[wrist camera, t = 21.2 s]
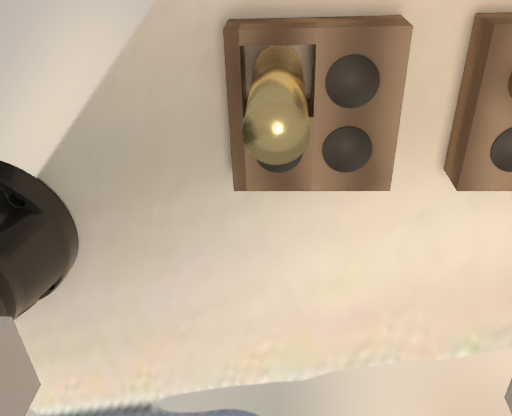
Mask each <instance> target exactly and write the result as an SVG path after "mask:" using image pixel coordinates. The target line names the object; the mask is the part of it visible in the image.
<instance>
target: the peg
mask: <svg viewBox="0 0 512 416" xmlns="http://www.w3.org/2000/svg"><path fill="white" fill-rule="evenodd" d="M242 138H243V142H244V145H245V147H246V149H247V150H248V152H249V153H250V154H251V155H252V156H253V157H254V158H256V159H257V160H259V161H261V162H263V163H266V164H271V165H281V164H286V163H289V162H291V161H293V160H295V159H297V158H298V157H299V156H300V155H301V154H302V153H303V152H304V151H305V149H306V148H307V145H308V143H309V140H310V125H309V117H308V108H307V100H306V91H305V83H304V74H303V66H302V61H301V59H300V57H299V55H298V54H297V52H295V51H294V50H293V49H292V48H290V47H288V46H285V45H273V46H270V47H268V48H266V49H264V50H263V51H262V52H261V53H260V54H259V56H258V57H257V59H256V62H255V66H254V71H253V76H252V82H251V87H250V92H249V97H248V102H247V107H246V113H245V118H244V123H243V128H242Z"/></svg>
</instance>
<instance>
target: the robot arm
mask: <svg viewBox="0 0 512 416" xmlns="http://www.w3.org/2000/svg"><path fill="white" fill-rule="evenodd" d="M77 250H78V238H77V232H76V228H75V225H74V223H73V220H72V218H71V216H70V214H69V212H68V211H67V209H66V208H65V206H64V205H63V203H62V202H61V201H60V200H59V198H58V197H57V196H56V195H55V194H54V193H53V192H52V191H51V190H50V189H49V188H48V187H47V186H46V185H44V184H43V183H42V182H41V181H39V180H38V179H36V178H35V177H34V176H32V175H30V174H29V173H27V172H25V171H23V170H22V169H19V168H18V167H15V166H13V165H11V164H8V163H5V162H3V161H0V416H25V414H26V412H27V411H28V409H29V407H30V405H31V403H32V401H33V399H34V397H35V395H36V393H37V391H38V389H39V387H40V385H41V384H40V381H39V379H38V377H37V374H36V372H35V370H34V368H33V365H32V363H31V361H30V358H29V356H28V354H27V351H26V349H25V347H24V344H23V342H22V340H21V337H20V335H19V333H18V330H17V328H16V326H15V323H14V319H16V318H17V317H19V316H20V315H21V314H23V313H24V312H25V311H27V310H28V309H29V308H31V307H32V306H33V305H34V304H35V303H36V302H37V301H38V300H40V299H42V298H44V297H45V296H47V295H48V294H50V293H51V292H53V291H54V290H55V289H56V288H57V287H58V286H59V285H60V284H61V283H62V281H63V280H64V278H65V277H66V275H67V273H68V272H69V270H70V268H71V267H72V265H73V263H74V261H75V259H76V255H77ZM505 400H506V402H507V404H508V406H509V409H510V411H511V413H512V379H511V382H510V384H509V387H508V389H507V392H506V394H505Z"/></svg>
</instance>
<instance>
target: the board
mask: <svg viewBox="0 0 512 416" xmlns="http://www.w3.org/2000/svg"><path fill="white" fill-rule="evenodd" d="M444 170H445V172H446V174H447V175H448V177H449V179H450V180H451V182H452V184H453V185H454V187H455V188H456V190H457V191H512V13H481V14H476V15H475V20H474V24H473V29H472V34H471V39H470V44H469V49H468V54H467V59H466V64H465V69H464V73H463V78H462V83H461V88H460V93H459V98H458V103H457V108H456V113H455V118H454V122H453V127H452V132H451V137H450V142H449V147H448V152H447V157H446V162H445V166H444Z"/></svg>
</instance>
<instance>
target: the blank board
mask: <svg viewBox="0 0 512 416" xmlns="http://www.w3.org/2000/svg"><path fill="white" fill-rule="evenodd" d="M412 29H413V26H412V25H411V24H410V23H409V22H408V21H407V20H406V19H405V18H404V17H403V16H402V15H397V16H354V17H312V18H270V19H229V20H228V22H227V24H226V26H225V28H224V30H223V34H224V49H225V64H226V79H227V94H228V109H229V125H230V140H231V155H232V170H233V185H234V191H390V187H391V180H392V173H393V165H394V158H395V151H396V144H397V137H398V129H399V122H400V115H401V108H402V101H403V93H404V86H405V79H406V72H407V65H408V57H409V50H410V43H411V36H412ZM302 44H313V68H312V100H307V108H308V117H309V125H310V140H309V143H308V145H307V148H306V149H305V151H304V152H303V153H302V154H301V155H300V156H299V157H298V158H297V159H295V160H293V161H291V162H289V163H286V164H281V165H271V164H266V163H263V162H261V161H259V160H257V159H256V158H254V157H253V156H252V155H251V154H250V153H249V152H248V150H247V149H246V147H245V145H244V142H243V138H242V128H243V123H244V118H245V113H246V107H247V102H248V101H247V99H246V77H245V54H244V46H252V45H302Z"/></svg>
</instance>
